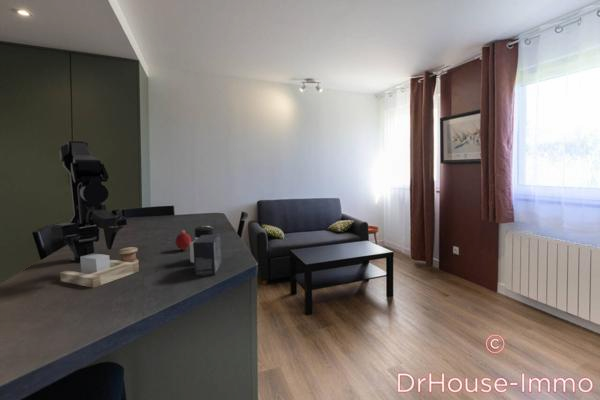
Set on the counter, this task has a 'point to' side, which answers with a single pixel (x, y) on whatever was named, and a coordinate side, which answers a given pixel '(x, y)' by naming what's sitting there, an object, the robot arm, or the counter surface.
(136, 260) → the wooden spool
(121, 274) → the notched board
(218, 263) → the small box
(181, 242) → the onion
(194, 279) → the counter surface
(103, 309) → the counter surface
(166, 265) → the counter surface
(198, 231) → the medicine bottle
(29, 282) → the counter surface
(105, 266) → the tall pale grey block
